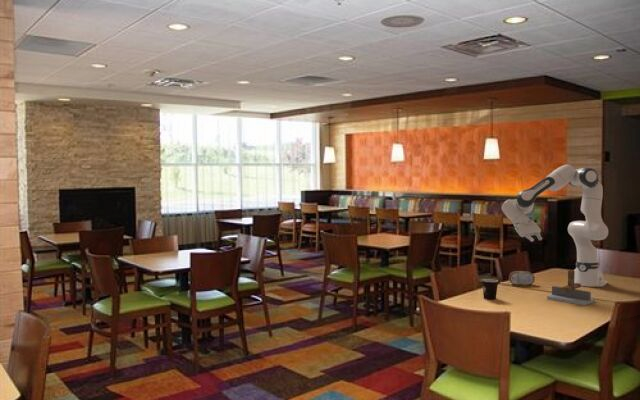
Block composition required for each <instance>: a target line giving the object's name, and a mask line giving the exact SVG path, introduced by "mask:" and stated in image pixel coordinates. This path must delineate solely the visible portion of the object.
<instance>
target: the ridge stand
mask: <svg viewBox="0 0 640 400" xmlns="http://www.w3.org/2000/svg"><path fill="white" fill-rule="evenodd" d="M561 287H562V286H555V285H552V286H551V294H549V295H547V296H546V299H547V298H548V300H551V299H552V300H551V301H558V302H564V303H569V304H574V305H580V306H587V305H590V304H592V303H594V302H596V298H593V297H592V292H591V291H586V290H581V289H577V288H576V289H573V290H570V291H567V292H563V291H561Z"/></svg>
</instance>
